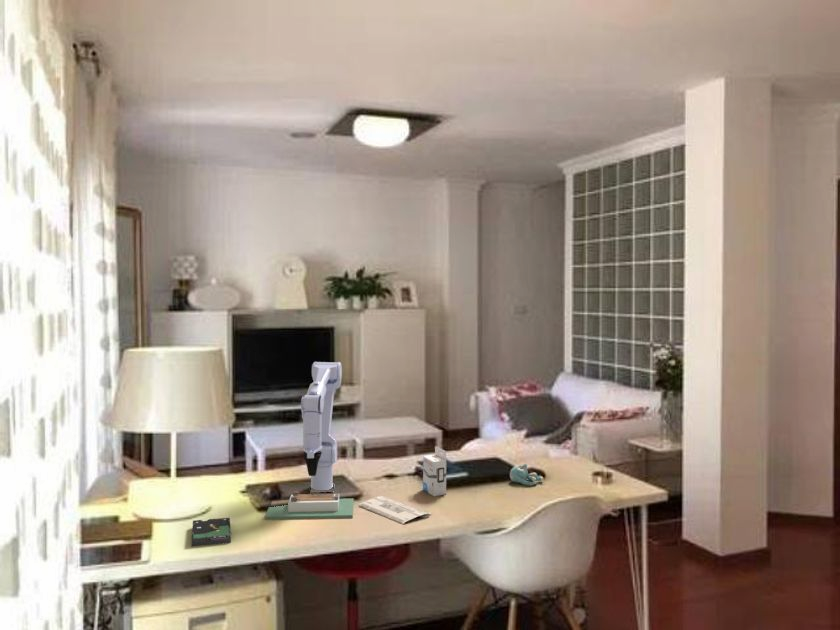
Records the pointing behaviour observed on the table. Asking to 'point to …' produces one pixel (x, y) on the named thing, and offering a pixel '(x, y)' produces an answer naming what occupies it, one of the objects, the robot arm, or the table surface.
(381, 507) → the newspaper
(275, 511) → the board
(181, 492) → the table surface
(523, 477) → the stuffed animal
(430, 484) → the ink box
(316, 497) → the strip
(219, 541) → the disk drive
